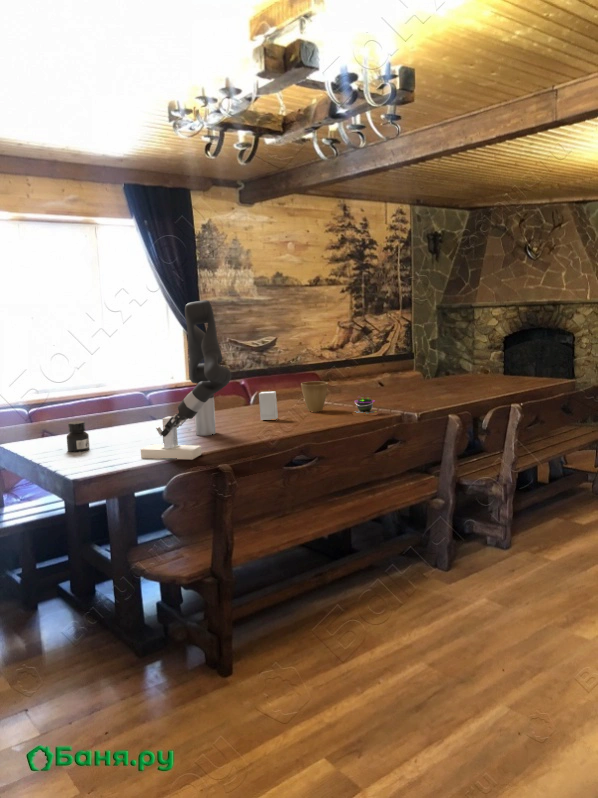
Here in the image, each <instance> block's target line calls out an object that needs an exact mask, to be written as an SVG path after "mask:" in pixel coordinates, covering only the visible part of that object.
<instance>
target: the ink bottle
mask: <svg viewBox="0 0 598 798" xmlns="http://www.w3.org/2000/svg"><path fill="white" fill-rule="evenodd" d="M67 426H68V432H69V433H68V434H67V435H66V444H67V445H66V447H67V451H68V452H71V453H72V452H73V453H79V451H81V452H85V451H88V450H90V436H89V433H88V432H87V431H86V421H84V420H77V421H75V420H74V421H70V422H68V423H67Z"/></svg>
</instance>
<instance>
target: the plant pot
mask: <svg viewBox="0 0 598 798" xmlns="http://www.w3.org/2000/svg"><path fill="white" fill-rule="evenodd" d="M328 386H329V384H328V382H326V381H320V380H319V381H318V380H317V381H306V382H305V381H304V382H301V383H300V387H301V392H302V395H303V400H304V403H305V405H306V408H307V410H308V412H309V411H313V412H312V413H317V412H316V411H321V412H322V411H323V409H324V407H325V406H324V405H325V403H326V397H327V393H328Z"/></svg>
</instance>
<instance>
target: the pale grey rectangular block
mask: <svg viewBox="0 0 598 798" xmlns="http://www.w3.org/2000/svg"><path fill="white" fill-rule="evenodd" d="M171 417H174V415H173V416H169V415H168V416H165V417H163V418H162V419H161V420H162V431H163V430H164V429H165V428H166V427H165V425H166V424H167V422H168V421H169V420H170V419H171ZM175 425H176V424H175ZM169 426H170V425H169ZM178 439H179V438H178V428H177V427H174V428H173V429H172V430H171V431H170V432H169V433H168V434H167V435H166V436H165V437H164V444H163V445H164V448H174V446H178V445H179V443H178V442H179V440H178Z"/></svg>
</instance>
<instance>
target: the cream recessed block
mask: <svg viewBox="0 0 598 798" xmlns="http://www.w3.org/2000/svg"><path fill="white" fill-rule="evenodd" d="M201 455H202V446H201V445H187V444H186V445H184V444H183V445H181V444H178V446H174V448H164V444H150V445H149V444H148V445H147V446H145V447H142V448H141V449H140V458H141V459H160V458H177V459H176V460H190V461H191V460H194V459H196V458H198V457H199V456H201Z"/></svg>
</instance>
